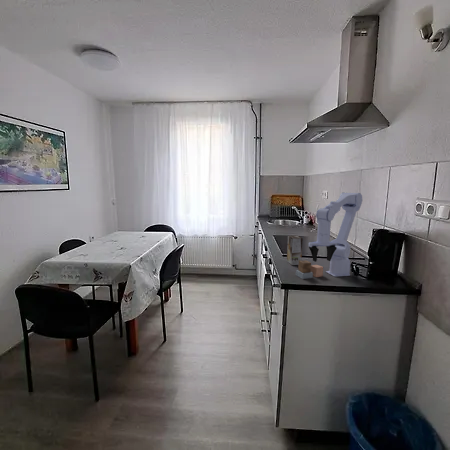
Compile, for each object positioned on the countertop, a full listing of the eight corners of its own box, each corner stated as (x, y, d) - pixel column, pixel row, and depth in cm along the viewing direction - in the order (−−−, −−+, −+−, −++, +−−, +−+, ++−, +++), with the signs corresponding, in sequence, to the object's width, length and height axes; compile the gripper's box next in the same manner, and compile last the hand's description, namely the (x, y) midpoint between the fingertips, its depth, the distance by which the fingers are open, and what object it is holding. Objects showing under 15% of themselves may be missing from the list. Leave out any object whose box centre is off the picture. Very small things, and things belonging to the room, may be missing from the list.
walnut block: (305, 269, 140) (306, 260, 139) (310, 272, 135) (311, 262, 134) (298, 270, 139) (298, 260, 138) (302, 272, 134) (303, 263, 133)
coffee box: (301, 265, 157) (303, 238, 154) (291, 265, 156) (292, 238, 154) (296, 260, 166) (297, 235, 163) (286, 260, 165) (287, 235, 163)
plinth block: (305, 274, 141) (305, 269, 140) (312, 278, 135) (312, 272, 135) (295, 275, 139) (296, 270, 139) (302, 279, 133) (302, 273, 133)
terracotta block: (315, 273, 142) (316, 264, 141) (322, 276, 138) (323, 266, 137) (309, 274, 140) (310, 265, 139) (316, 277, 136) (316, 268, 135)
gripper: (332, 231, 134) (329, 257, 136) (305, 232, 130) (303, 259, 132) (341, 234, 127) (338, 261, 129) (313, 234, 124) (311, 263, 126)
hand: (321, 260), depth 130 cm, fingers open, 7 cm apart
